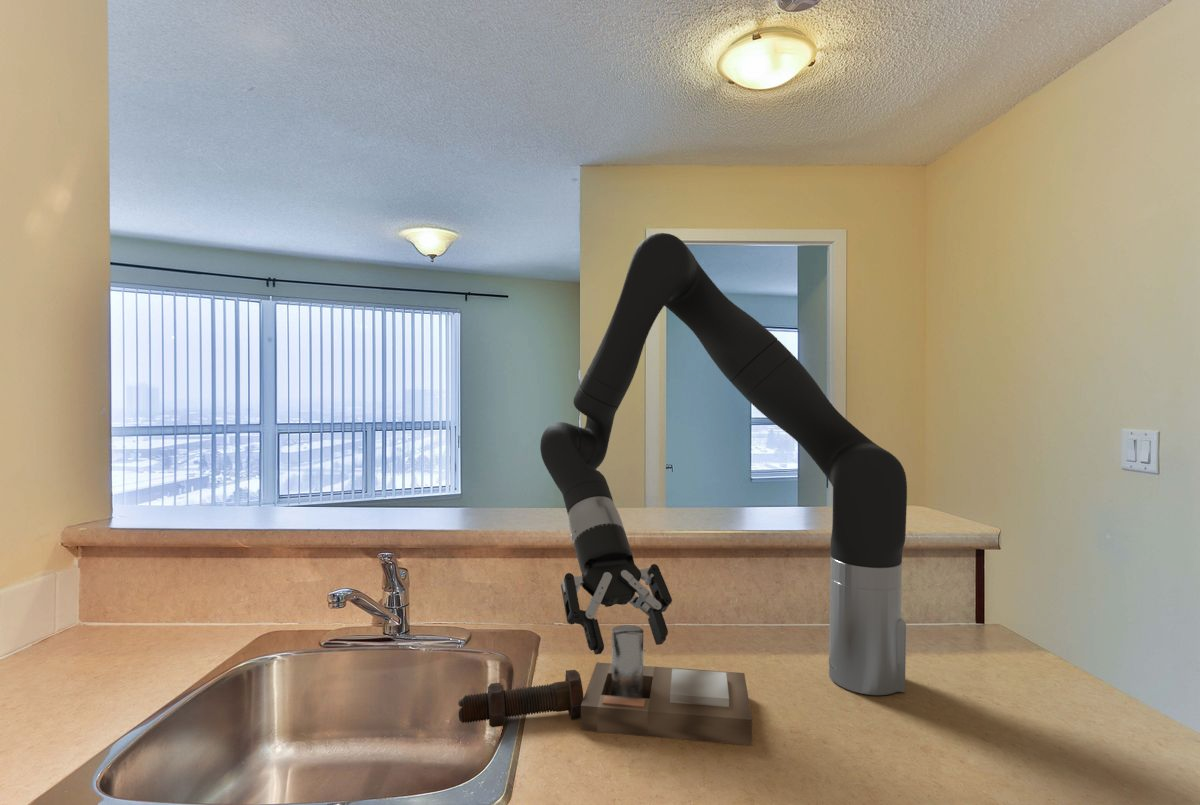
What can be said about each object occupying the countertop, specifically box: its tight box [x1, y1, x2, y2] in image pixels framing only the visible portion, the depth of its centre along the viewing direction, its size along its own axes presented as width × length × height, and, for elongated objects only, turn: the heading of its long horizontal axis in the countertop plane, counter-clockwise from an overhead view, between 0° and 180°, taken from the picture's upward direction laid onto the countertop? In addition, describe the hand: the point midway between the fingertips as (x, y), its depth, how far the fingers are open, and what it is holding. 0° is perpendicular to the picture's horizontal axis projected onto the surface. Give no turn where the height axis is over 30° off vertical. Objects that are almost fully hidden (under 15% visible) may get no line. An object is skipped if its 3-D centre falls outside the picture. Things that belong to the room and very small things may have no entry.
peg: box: [611, 624, 644, 698], centre depth 80 cm, size 4×4×10 cm
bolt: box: [457, 669, 584, 728], centre depth 77 cm, size 6×5×15 cm
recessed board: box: [580, 661, 753, 747], centre depth 79 cm, size 20×12×4 cm, turn 81°
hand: (631, 646), depth 79 cm, fingers open, 8 cm apart
